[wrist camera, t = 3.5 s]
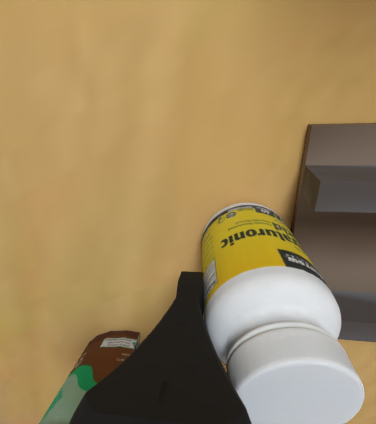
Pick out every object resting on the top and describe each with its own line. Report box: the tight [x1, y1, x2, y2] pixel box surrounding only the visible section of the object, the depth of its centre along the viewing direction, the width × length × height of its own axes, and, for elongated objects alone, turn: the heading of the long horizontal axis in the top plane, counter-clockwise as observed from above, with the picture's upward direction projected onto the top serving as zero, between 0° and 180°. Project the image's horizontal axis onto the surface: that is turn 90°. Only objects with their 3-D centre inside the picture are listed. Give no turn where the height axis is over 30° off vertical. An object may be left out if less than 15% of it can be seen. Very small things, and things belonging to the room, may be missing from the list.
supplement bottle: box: [201, 203, 364, 424], centre depth 12 cm, size 5×5×10 cm
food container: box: [39, 331, 140, 424], centre depth 20 cm, size 12×6×10 cm, turn 171°
